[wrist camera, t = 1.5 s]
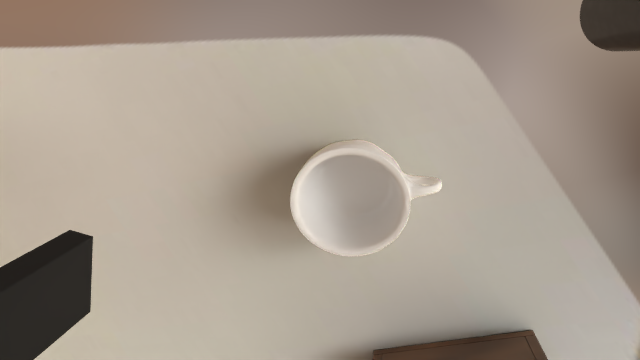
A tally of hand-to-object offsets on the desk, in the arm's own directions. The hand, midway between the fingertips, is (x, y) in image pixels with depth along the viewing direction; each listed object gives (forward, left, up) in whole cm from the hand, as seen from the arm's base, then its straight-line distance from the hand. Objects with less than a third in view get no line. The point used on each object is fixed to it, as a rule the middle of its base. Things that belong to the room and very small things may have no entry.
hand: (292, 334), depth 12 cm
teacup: (-1, +2, -20) cm, 20 cm away
